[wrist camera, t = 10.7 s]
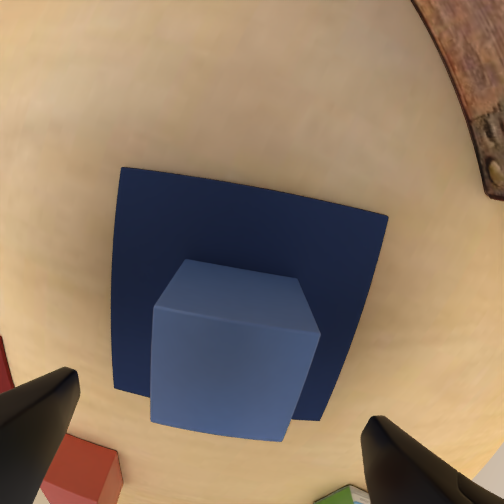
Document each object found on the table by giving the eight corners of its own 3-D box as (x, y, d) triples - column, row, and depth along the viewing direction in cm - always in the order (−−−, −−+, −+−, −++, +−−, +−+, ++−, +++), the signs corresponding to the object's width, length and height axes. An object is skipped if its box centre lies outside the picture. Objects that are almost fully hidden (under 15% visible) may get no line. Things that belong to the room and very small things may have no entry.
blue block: (273, 369, 15) (282, 442, 10) (174, 353, 15) (150, 422, 10) (298, 277, 14) (322, 333, 9) (184, 258, 14) (153, 305, 9)
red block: (123, 483, 19) (108, 528, 14) (70, 464, 19) (50, 505, 14) (117, 451, 18) (97, 502, 13) (58, 429, 17) (31, 474, 12)
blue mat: (318, 416, 17) (319, 421, 16) (116, 384, 16) (113, 388, 15) (385, 215, 14) (389, 216, 13) (124, 166, 13) (120, 167, 12)
